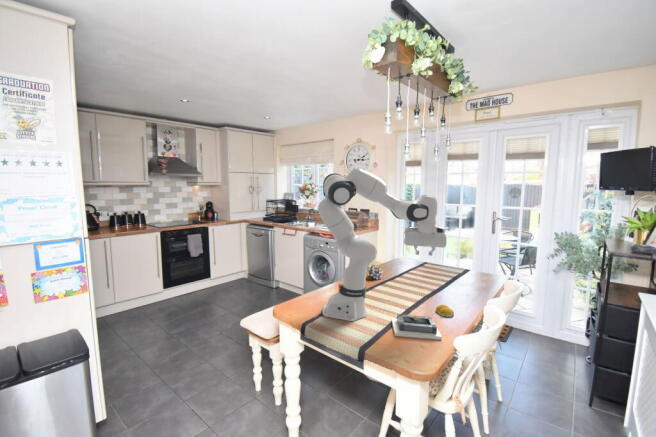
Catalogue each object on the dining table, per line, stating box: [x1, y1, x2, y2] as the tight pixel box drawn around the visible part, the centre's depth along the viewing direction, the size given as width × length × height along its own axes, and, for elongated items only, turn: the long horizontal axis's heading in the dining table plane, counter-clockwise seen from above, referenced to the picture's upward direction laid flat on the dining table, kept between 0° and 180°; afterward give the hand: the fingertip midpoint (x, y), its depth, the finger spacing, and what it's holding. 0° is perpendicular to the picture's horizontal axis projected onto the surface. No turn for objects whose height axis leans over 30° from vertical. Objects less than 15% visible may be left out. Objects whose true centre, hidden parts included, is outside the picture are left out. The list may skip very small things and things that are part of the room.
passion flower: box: [367, 262, 384, 281], centre depth 208 cm, size 11×11×12 cm
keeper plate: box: [390, 314, 443, 341], centre depth 138 cm, size 20×14×7 cm
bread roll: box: [435, 304, 455, 318], centre depth 156 cm, size 8×9×4 cm
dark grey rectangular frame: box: [396, 313, 438, 334], centre depth 138 cm, size 16×10×3 cm, turn 84°
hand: (423, 254), depth 151 cm, fingers open, 5 cm apart
